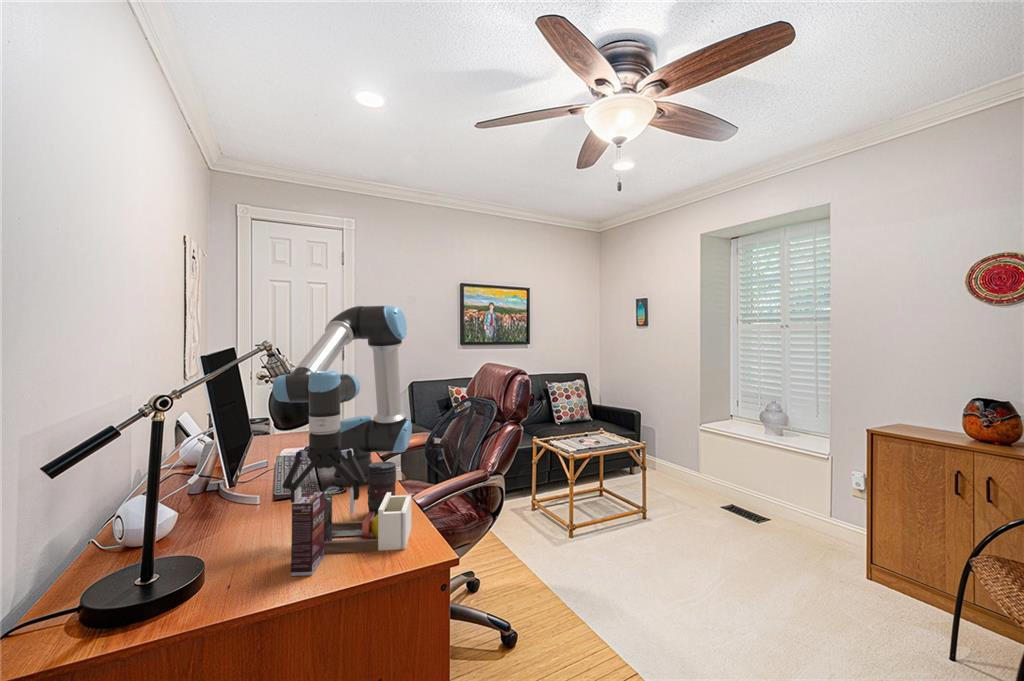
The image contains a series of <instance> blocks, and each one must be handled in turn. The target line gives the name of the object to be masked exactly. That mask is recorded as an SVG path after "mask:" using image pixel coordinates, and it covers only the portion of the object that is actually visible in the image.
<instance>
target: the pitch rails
mask: <svg viewBox="0 0 1024 681" xmlns="http://www.w3.org/2000/svg"><path fill="white" fill-rule="evenodd" d="M363 521H364V520H358V521H357V520H355V521H351V520H350V521H332V531H339V530H361V529H362V523H363ZM342 540H343V541H324V554H333V553H334V554H337V553H338V554H339V553H356V552H357V553H359V552H375V551H376V552H378V539H376V538H372V539H364V540H350V539H342Z"/></svg>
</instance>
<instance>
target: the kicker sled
mask: <svg viewBox="0 0 1024 681" xmlns="http://www.w3.org/2000/svg"><path fill="white" fill-rule="evenodd" d="M373 519H374V512H369V511H368V512H367V514H366V516H365V518H364V520H362V521H363V523H362V529H361V530H339V531H332V522H333V496H332V495H324V541H343V540H344V539H333V537H348V536H362V537H361V538H355V539H354V538H353V539H352V538H351V539H349V540H364V539H373V537H374V536H373V534H372V531H371V524H372V521H373Z"/></svg>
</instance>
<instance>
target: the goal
mask: <svg viewBox="0 0 1024 681" xmlns="http://www.w3.org/2000/svg"><path fill="white" fill-rule="evenodd" d="M385 509H386V511H388V512H384V511H385ZM411 530H412V494H406V495H405V494H403V495H402V494H401V495H396V496H391V492H387V493H386V495H385V497H384V499H383V501H382V503H381V505H380V507H379V509H378V551H380V552H381V551H396V550H406V549H407V545H408V542H409V537H410V534H411ZM378 551H377V552H378Z"/></svg>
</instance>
